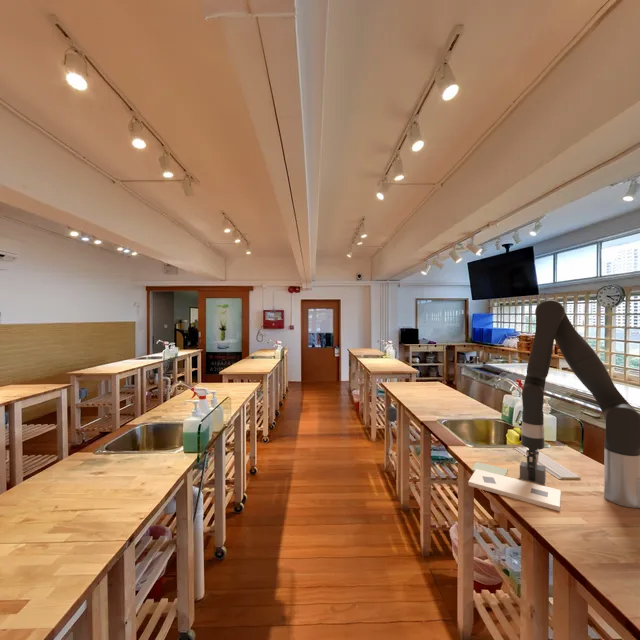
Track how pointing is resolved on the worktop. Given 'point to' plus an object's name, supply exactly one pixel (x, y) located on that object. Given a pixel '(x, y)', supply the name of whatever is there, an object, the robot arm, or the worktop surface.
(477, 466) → the rest mat
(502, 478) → the board
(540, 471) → the block
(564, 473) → the baseboard
